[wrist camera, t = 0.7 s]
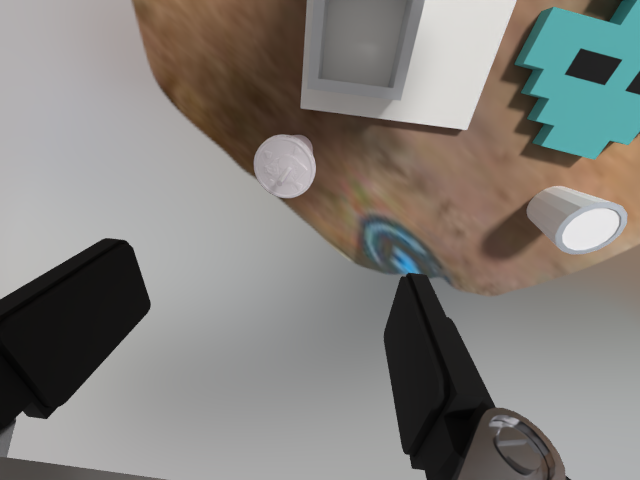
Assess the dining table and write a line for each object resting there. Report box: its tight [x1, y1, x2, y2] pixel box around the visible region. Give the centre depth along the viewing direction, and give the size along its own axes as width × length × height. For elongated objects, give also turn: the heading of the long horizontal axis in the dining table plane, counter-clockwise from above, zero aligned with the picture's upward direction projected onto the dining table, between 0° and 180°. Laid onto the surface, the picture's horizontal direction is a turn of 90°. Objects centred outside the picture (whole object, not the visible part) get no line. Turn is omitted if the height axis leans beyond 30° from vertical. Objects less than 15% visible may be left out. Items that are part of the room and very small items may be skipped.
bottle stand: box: [300, 0, 517, 130], centre depth 26 cm, size 14×20×5 cm
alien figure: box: [514, 0, 640, 160], centre depth 26 cm, size 20×2×20 cm
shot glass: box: [526, 186, 627, 254], centre depth 32 cm, size 7×7×7 cm
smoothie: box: [254, 134, 316, 198], centre depth 28 cm, size 6×6×14 cm
